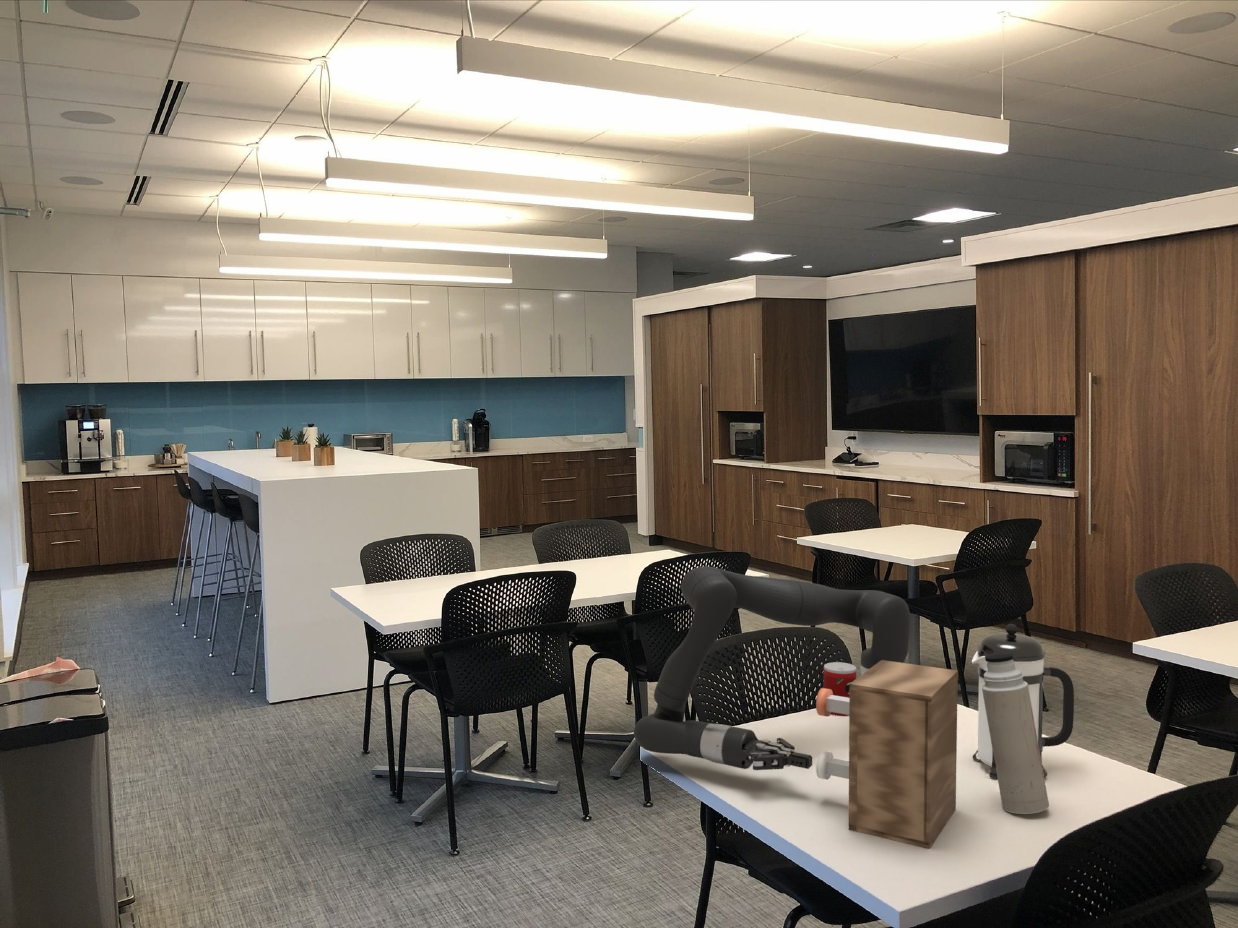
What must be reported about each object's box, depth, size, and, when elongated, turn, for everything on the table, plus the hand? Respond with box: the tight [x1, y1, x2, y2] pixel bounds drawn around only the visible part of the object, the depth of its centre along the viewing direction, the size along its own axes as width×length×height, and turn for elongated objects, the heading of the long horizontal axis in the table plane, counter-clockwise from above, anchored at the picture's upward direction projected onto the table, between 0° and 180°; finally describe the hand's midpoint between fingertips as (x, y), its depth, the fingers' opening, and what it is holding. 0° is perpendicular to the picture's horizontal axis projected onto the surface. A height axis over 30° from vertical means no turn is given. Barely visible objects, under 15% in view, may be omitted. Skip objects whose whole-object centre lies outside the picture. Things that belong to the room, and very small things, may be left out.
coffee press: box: [971, 623, 1075, 780], centre depth 196 cm, size 17×16×30 cm
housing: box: [848, 660, 959, 849], centre depth 173 cm, size 14×18×26 cm
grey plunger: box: [815, 750, 849, 781], centre depth 178 cm, size 14×5×5 cm, turn 57°
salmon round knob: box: [815, 687, 849, 717], centre depth 177 cm, size 14×5×5 cm, turn 57°
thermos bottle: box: [982, 653, 1050, 815], centre depth 177 cm, size 8×8×28 cm
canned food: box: [823, 661, 857, 717], centre depth 233 cm, size 8×8×11 cm
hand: (810, 762), depth 182 cm, fingers closed
